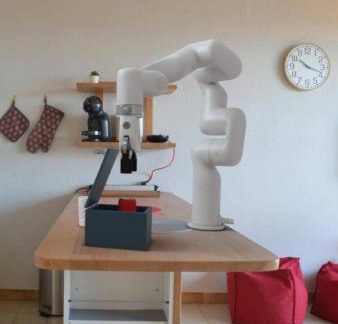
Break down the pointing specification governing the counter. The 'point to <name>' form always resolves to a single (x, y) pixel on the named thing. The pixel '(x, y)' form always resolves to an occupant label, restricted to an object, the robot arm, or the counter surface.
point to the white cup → (83, 209)
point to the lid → (101, 174)
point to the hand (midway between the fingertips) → (128, 172)
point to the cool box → (118, 227)
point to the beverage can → (127, 204)
